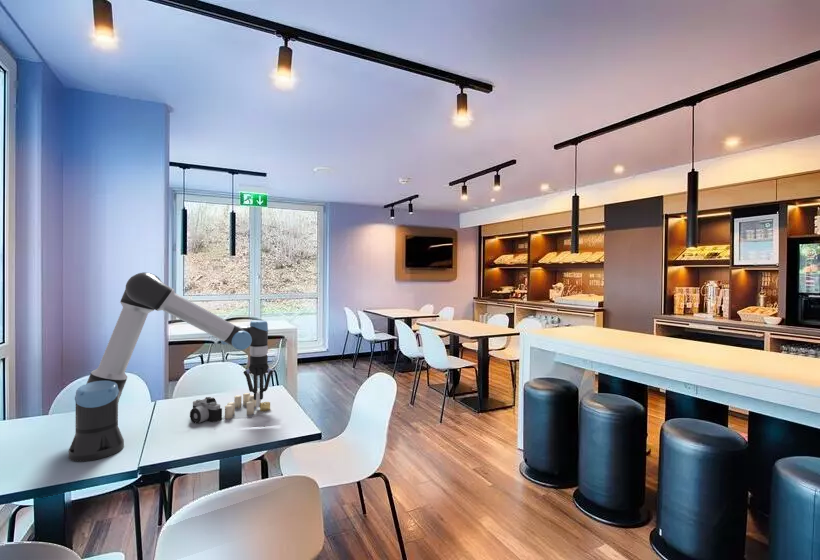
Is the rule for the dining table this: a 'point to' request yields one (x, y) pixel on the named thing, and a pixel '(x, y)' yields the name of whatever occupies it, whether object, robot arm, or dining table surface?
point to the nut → (264, 406)
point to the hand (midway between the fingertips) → (258, 406)
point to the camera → (206, 411)
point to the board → (240, 407)
